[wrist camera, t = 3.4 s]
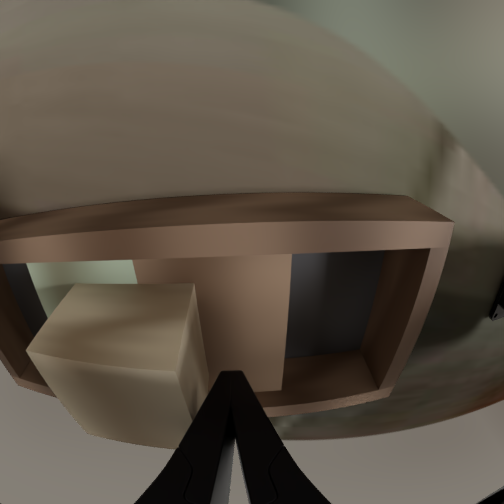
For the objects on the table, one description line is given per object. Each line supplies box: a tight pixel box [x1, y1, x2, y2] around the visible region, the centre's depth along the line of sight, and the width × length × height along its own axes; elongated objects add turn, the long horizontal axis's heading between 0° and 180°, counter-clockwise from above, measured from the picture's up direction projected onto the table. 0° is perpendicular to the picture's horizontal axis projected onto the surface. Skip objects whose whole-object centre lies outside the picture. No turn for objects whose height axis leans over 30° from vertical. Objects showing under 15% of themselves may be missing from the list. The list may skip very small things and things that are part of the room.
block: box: [26, 283, 209, 449], centre depth 9 cm, size 5×5×4 cm
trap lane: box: [0, 193, 455, 417], centre depth 11 cm, size 23×10×4 cm, turn 91°
